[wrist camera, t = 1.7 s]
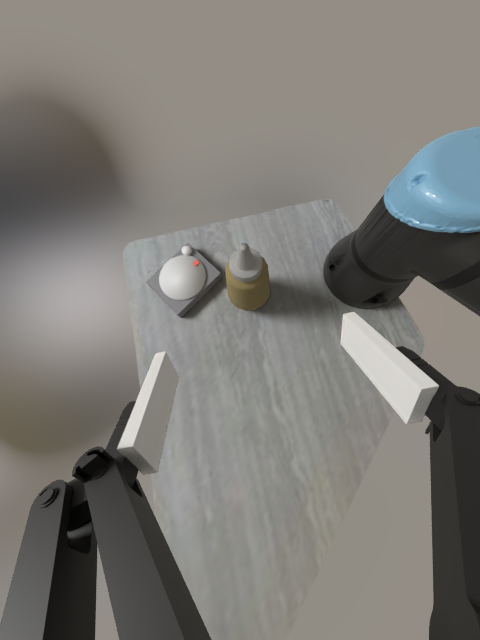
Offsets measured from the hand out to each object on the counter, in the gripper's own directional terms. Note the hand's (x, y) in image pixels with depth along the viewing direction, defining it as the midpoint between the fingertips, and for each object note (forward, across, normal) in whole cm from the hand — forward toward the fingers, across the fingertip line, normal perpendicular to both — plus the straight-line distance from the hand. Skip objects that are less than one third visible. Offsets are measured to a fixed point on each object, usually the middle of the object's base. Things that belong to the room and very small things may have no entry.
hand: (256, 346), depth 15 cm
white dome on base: (+30, -11, -4) cm, 33 cm away
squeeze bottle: (+26, +1, -9) cm, 28 cm away
